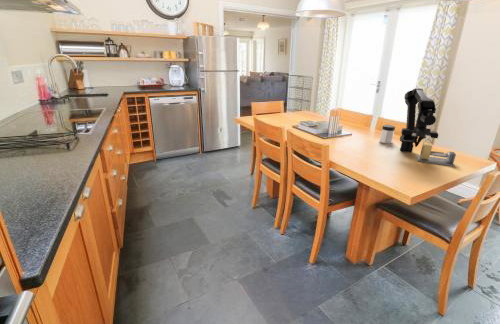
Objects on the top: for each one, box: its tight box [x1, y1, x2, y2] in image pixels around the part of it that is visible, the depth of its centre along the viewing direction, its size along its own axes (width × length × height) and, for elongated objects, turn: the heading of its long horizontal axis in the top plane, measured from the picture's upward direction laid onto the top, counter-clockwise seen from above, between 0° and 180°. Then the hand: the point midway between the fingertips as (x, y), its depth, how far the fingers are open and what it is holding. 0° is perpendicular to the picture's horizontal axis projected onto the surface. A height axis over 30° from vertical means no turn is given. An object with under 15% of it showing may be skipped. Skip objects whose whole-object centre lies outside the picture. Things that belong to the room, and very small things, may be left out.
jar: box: [379, 124, 396, 144], centre depth 200 cm, size 9×8×12 cm
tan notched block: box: [419, 142, 433, 160], centre depth 166 cm, size 4×6×8 cm, turn 155°
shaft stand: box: [416, 150, 457, 167], centre depth 164 cm, size 18×10×6 cm, turn 65°
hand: (415, 146), depth 167 cm, fingers closed
